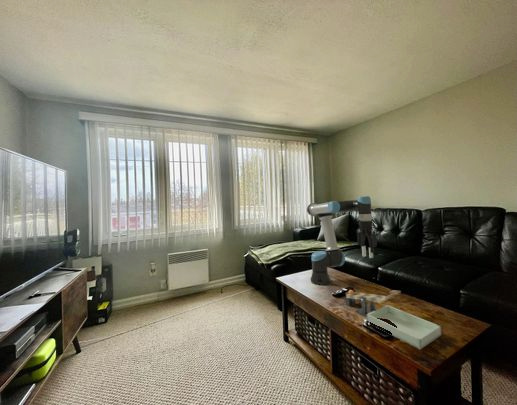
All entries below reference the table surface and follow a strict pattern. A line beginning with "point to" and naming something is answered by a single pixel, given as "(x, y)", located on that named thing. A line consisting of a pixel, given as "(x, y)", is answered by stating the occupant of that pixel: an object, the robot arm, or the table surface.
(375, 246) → the robot arm
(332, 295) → the table surface
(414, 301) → the table surface
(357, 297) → the lever
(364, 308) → the stand
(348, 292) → the ball
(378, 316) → the tray
